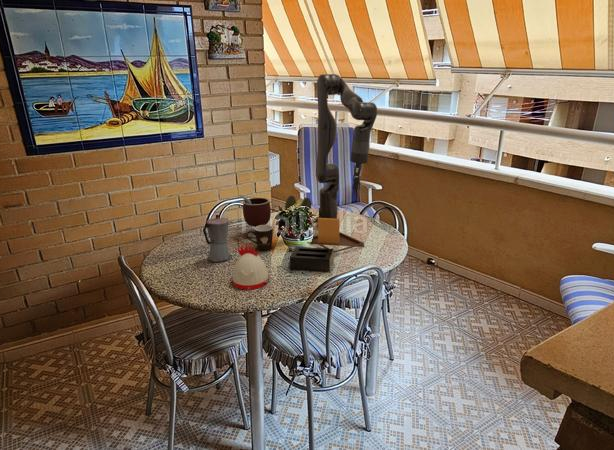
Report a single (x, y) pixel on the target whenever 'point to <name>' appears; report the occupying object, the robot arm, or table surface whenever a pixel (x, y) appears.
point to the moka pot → (217, 238)
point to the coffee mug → (263, 237)
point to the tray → (340, 242)
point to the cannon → (301, 202)
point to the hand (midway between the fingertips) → (356, 187)
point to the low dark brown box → (312, 259)
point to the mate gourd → (256, 212)
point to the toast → (328, 230)
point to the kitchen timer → (249, 270)
